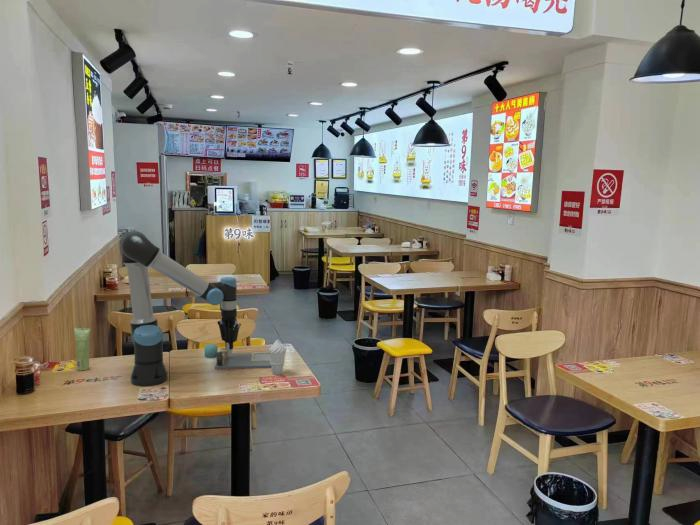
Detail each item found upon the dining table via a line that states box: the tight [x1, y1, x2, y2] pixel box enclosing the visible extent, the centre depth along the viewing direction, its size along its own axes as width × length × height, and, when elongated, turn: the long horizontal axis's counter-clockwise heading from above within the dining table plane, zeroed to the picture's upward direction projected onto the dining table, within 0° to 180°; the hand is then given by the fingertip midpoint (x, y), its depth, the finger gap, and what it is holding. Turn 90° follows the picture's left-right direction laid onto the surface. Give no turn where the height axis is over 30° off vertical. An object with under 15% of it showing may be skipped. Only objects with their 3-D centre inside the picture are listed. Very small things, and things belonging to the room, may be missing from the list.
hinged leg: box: [216, 347, 227, 365], centre depth 252 cm, size 14×3×6 cm, turn 4°
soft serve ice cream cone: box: [267, 339, 287, 376], centre depth 240 cm, size 8×8×16 cm
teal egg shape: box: [204, 343, 219, 359], centre depth 263 cm, size 6×6×6 cm
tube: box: [73, 327, 91, 371], centre depth 239 cm, size 6×5×20 cm
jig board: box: [214, 351, 272, 370], centre depth 256 cm, size 30×20×2 cm, turn 99°
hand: (229, 355), depth 257 cm, fingers closed
